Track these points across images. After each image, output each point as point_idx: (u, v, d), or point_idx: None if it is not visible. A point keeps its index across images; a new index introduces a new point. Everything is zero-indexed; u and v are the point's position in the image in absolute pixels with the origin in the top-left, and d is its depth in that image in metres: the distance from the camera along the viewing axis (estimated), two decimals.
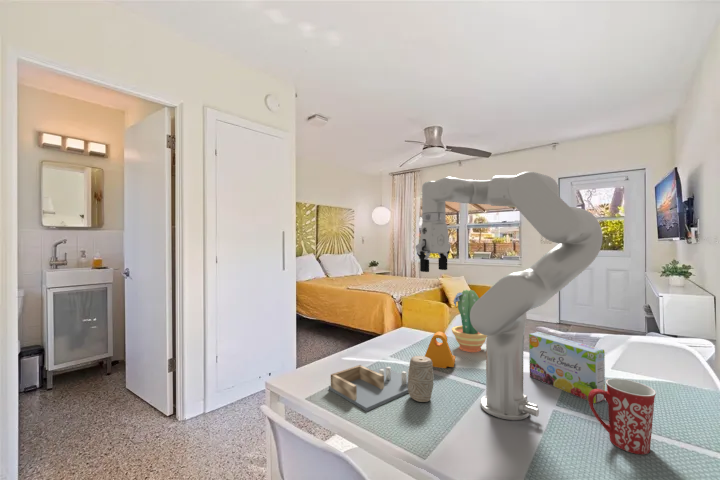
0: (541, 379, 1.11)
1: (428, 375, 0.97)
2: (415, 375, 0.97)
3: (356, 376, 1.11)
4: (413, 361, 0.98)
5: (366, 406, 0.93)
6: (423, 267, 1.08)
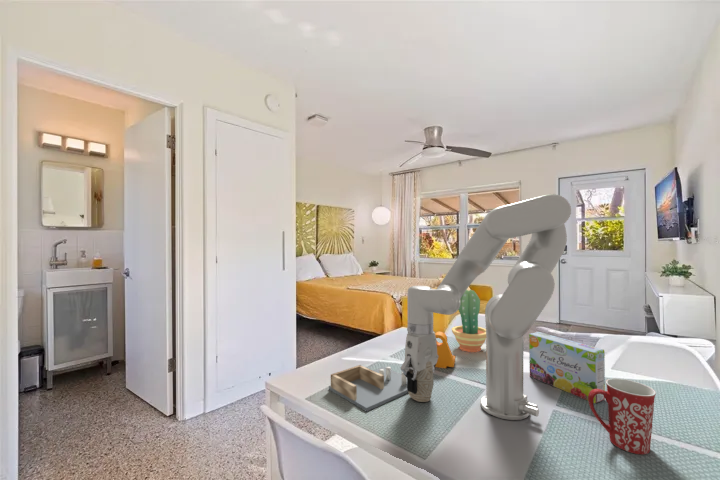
0: (541, 379, 1.11)
1: (428, 375, 0.97)
2: None
3: (356, 376, 1.11)
4: None
5: (366, 406, 0.93)
6: (410, 388, 0.96)
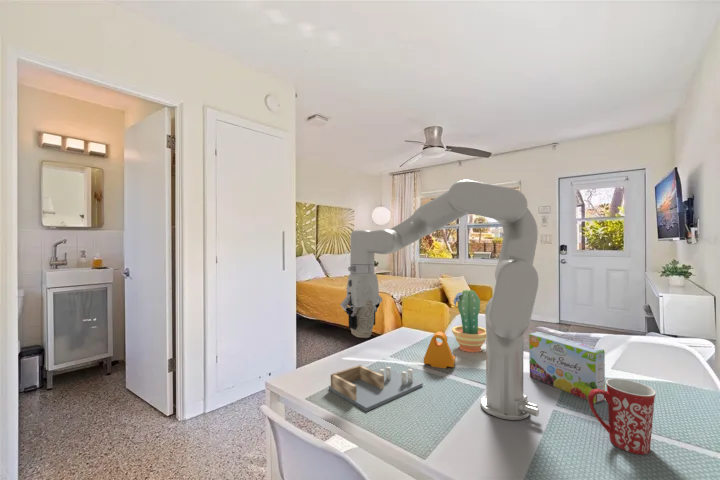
0: (541, 379, 1.11)
1: (368, 312, 1.03)
2: (356, 313, 1.03)
3: (356, 376, 1.11)
4: None
5: (366, 406, 0.93)
6: (350, 324, 1.02)
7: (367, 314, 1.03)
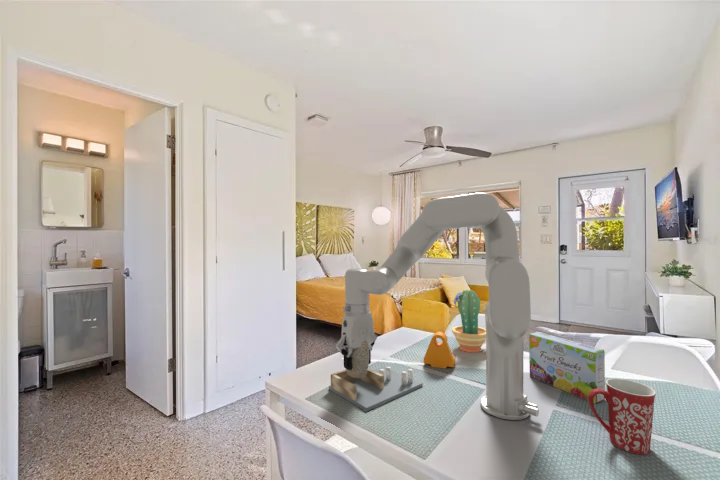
0: (541, 379, 1.11)
1: (363, 352, 1.02)
2: (351, 353, 1.02)
3: None
4: None
5: (366, 406, 0.93)
6: (345, 365, 1.01)
7: (362, 354, 1.02)
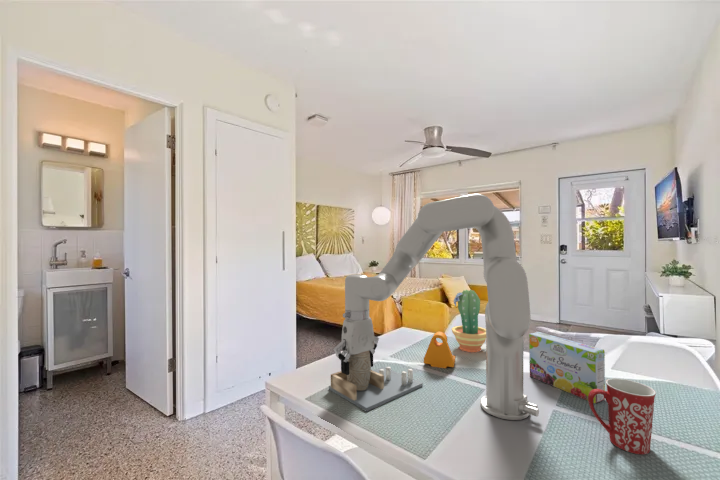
0: (541, 379, 1.11)
1: (364, 365, 1.02)
2: (352, 365, 1.03)
3: None
4: None
5: (366, 406, 0.93)
6: (343, 370, 1.01)
7: (364, 367, 1.02)
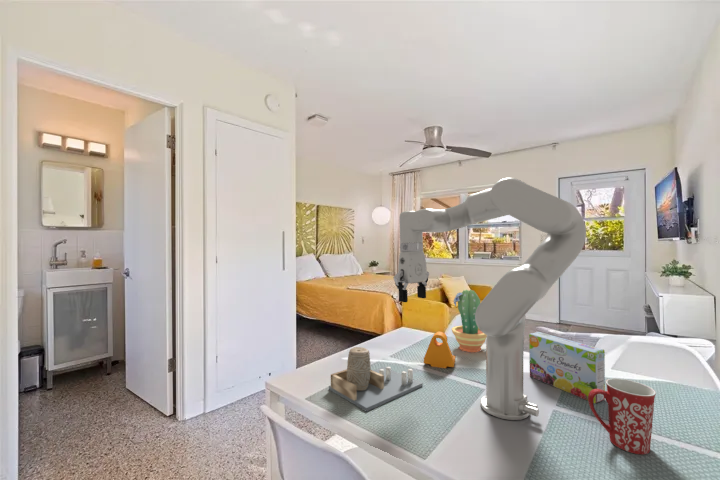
0: (541, 379, 1.11)
1: (364, 365, 1.02)
2: (352, 365, 1.03)
3: None
4: (351, 352, 1.04)
5: (366, 406, 0.93)
6: (401, 297, 1.08)
7: (363, 367, 1.02)
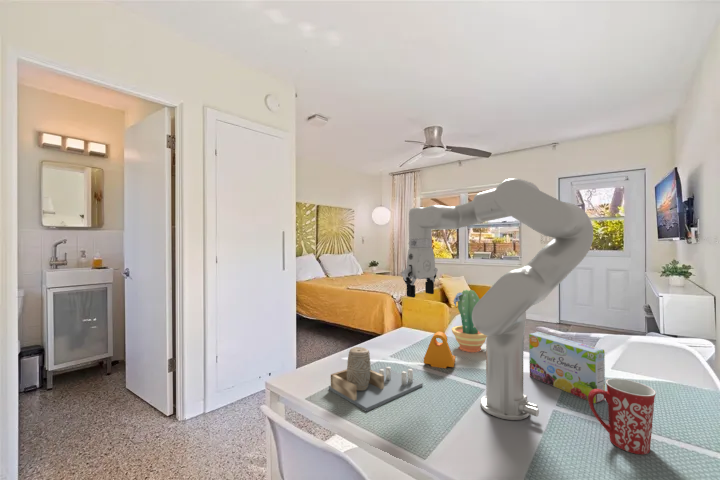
0: (541, 379, 1.11)
1: (364, 365, 1.02)
2: (352, 365, 1.03)
3: None
4: (351, 352, 1.04)
5: (366, 406, 0.93)
6: (409, 292, 1.09)
7: (363, 367, 1.02)
